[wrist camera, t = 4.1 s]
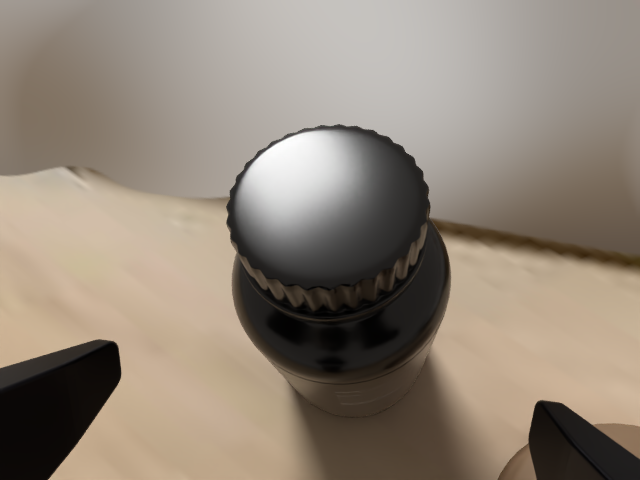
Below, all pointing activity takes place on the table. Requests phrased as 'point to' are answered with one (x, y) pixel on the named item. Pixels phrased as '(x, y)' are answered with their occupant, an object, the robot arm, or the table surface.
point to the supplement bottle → (338, 266)
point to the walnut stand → (520, 469)
